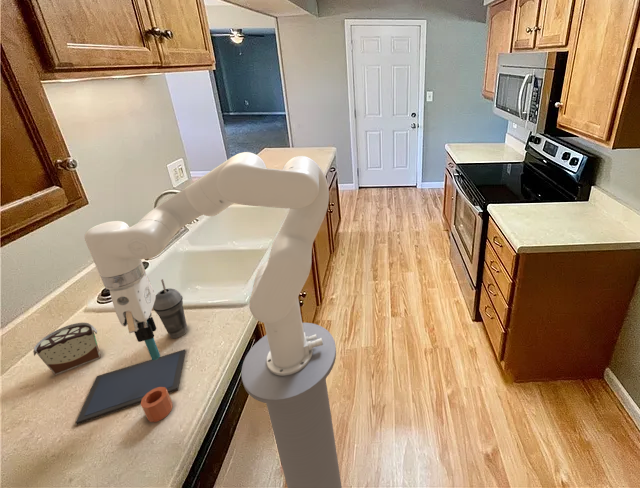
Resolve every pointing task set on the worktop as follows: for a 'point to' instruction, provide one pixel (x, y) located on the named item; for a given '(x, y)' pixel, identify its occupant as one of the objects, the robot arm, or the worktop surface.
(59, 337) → the food container
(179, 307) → the beverage cup
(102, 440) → the worktop surface
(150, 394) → the holder
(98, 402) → the tablet
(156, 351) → the stylus
